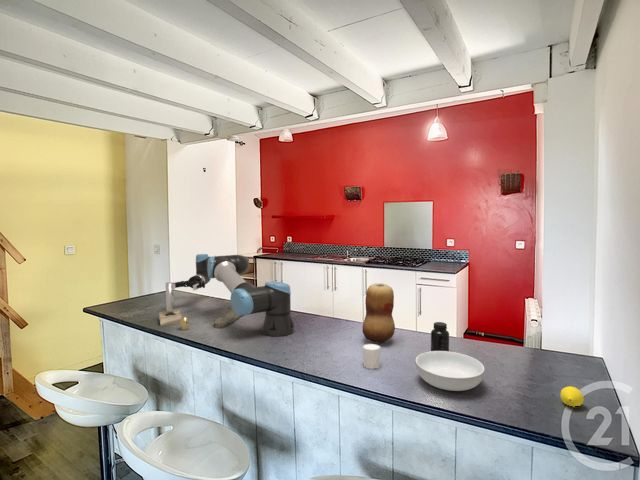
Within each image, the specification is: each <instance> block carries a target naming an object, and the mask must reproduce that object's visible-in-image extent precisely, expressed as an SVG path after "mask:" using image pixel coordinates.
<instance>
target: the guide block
mask: <svg viewBox="0 0 640 480" xmlns="http://www.w3.org/2000/svg"><path fill="white" fill-rule="evenodd" d="M181 317H183V316H182V314H181V312H180V310H178V309H175V310H174V315H171V316H167V315H166V311H160V312H158V320H159V323H160V327H162V326H163V327H164V326H170V325H177V324H178V325H179V324H181Z"/></svg>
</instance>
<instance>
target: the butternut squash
mask: <svg viewBox="0 0 640 480" xmlns="http://www.w3.org/2000/svg"><path fill="white" fill-rule="evenodd" d="M365 293H366V294H365V300H364V301H365V302H364V303H365V312H366V313H365V317H364V320H363V323H362V335H363V336H364V338H365V339H366V340H367V341H369V342H372V343H377V344H383V343H386V342H387V341H389V340H390V339H391V338H393V336H394V334H395V330H396V327H395V326H396V325H395V320H394V318H393V311H394V304H395V301H394V299H395V298H394V297H395V295H394V290H393V288H392V287H391V286H390V285H388V284H385V283H383V282H381V283H379V282H378V283H371V284H370V285H369V286H368V288H367V290H366V292H365Z"/></svg>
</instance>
